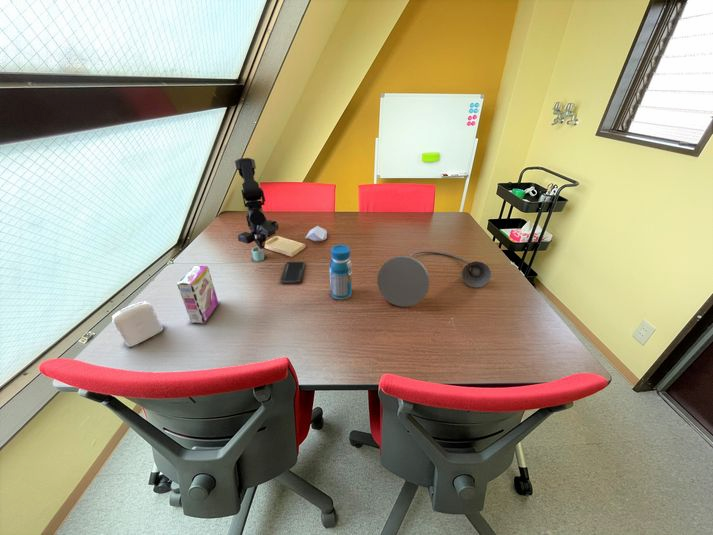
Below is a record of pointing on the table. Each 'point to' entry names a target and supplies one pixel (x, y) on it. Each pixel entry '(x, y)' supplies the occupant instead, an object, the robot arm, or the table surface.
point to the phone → (293, 272)
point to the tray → (284, 245)
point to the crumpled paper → (317, 234)
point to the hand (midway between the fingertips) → (262, 248)
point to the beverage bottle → (340, 272)
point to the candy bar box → (198, 294)
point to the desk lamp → (420, 278)
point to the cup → (257, 254)
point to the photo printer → (137, 323)
